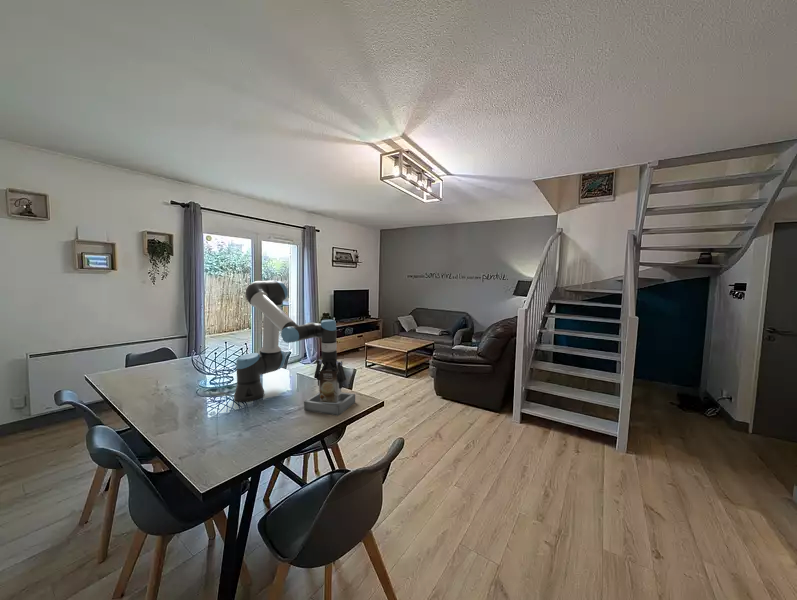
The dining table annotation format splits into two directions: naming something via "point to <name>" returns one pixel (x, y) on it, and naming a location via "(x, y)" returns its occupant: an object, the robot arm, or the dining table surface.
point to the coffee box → (328, 386)
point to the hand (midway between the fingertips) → (330, 393)
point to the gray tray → (329, 404)
